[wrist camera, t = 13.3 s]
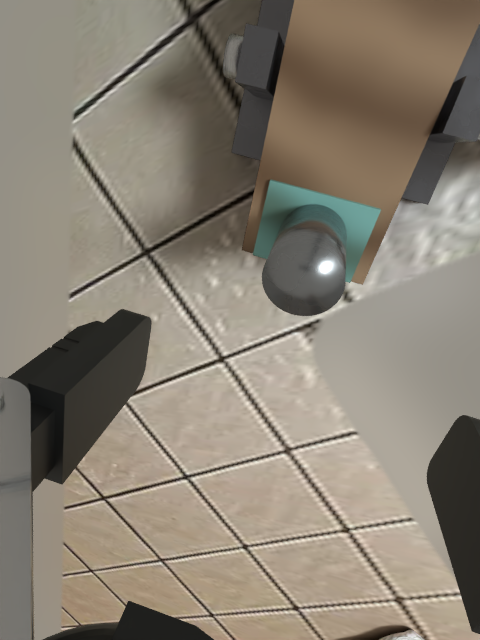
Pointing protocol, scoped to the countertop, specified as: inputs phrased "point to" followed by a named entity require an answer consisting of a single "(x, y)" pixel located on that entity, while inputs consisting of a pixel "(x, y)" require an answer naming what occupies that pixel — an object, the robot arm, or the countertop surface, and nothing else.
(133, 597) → the countertop surface
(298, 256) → the cylinder
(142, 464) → the countertop surface
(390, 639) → the cookie jar
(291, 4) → the seesaw stand
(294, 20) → the beam
